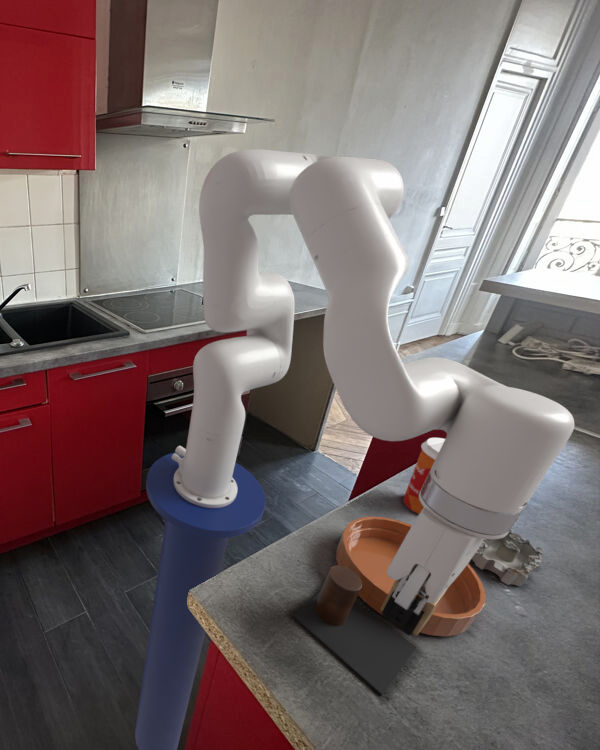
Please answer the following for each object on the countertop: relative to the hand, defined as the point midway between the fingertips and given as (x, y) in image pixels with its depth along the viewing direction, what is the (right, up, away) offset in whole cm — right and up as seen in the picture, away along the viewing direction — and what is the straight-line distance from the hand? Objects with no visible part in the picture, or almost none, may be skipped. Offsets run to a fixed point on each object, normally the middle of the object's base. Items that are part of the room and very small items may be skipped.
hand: (405, 612), depth 51 cm
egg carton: (+30, -2, +19) cm, 35 cm away
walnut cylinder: (-4, -5, +9) cm, 11 cm away
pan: (+10, -3, +15) cm, 18 cm away
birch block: (0, 0, 0) cm, 0 cm away
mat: (-2, -7, +7) cm, 10 cm away
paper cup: (+25, +3, +30) cm, 39 cm away
